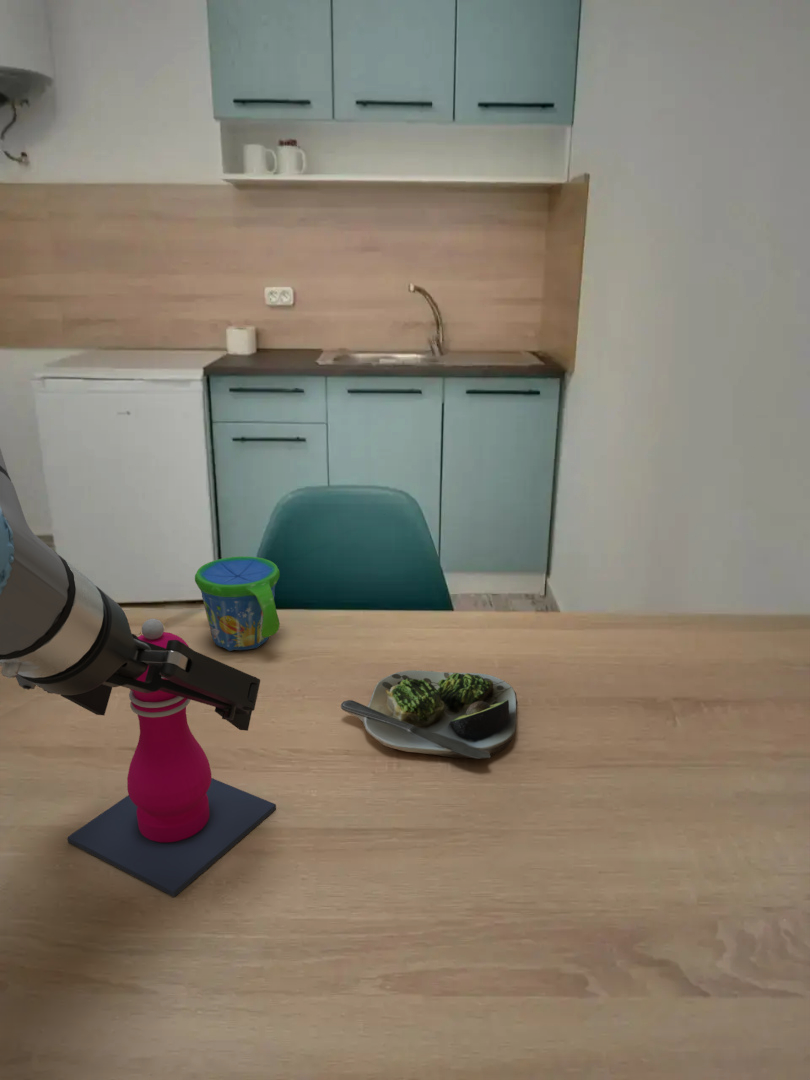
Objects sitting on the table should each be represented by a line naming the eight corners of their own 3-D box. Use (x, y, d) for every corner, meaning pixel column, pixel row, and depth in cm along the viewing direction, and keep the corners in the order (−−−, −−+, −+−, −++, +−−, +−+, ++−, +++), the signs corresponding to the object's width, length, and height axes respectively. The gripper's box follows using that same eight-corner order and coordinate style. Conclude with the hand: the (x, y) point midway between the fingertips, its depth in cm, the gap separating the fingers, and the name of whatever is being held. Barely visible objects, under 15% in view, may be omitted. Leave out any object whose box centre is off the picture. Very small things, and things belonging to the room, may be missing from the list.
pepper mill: (132, 854, 71) (103, 643, 64) (133, 803, 78) (107, 607, 71) (218, 838, 73) (198, 632, 66) (212, 789, 79) (194, 598, 73)
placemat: (67, 842, 73) (66, 837, 73) (175, 767, 84) (175, 762, 84) (174, 897, 67) (173, 891, 67) (276, 809, 78) (276, 803, 77)
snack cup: (304, 652, 108) (301, 579, 104) (229, 674, 102) (223, 598, 99) (253, 611, 120) (249, 545, 117) (183, 629, 114) (176, 560, 111)
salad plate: (324, 760, 85) (322, 720, 83) (359, 676, 102) (358, 642, 100) (514, 777, 82) (516, 736, 81) (518, 687, 99) (520, 653, 97)
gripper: (-133, 664, 56) (35, 735, 75) (217, 699, 51) (301, 765, 70) (-90, 562, 59) (60, 655, 78) (243, 587, 54) (316, 679, 73)
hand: (174, 707), depth 74 cm, fingers open, 13 cm apart
